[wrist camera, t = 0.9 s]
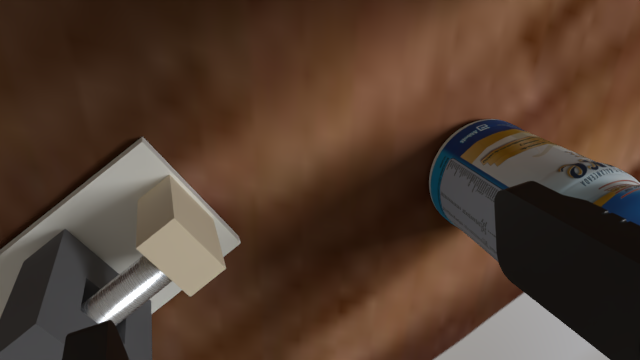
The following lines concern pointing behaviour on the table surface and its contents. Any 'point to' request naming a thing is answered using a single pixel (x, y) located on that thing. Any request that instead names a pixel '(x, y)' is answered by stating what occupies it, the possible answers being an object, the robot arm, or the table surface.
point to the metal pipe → (126, 292)
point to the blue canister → (517, 177)
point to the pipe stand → (133, 225)
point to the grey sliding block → (63, 303)
